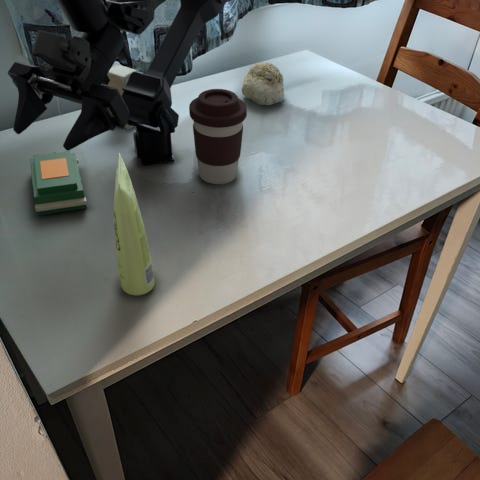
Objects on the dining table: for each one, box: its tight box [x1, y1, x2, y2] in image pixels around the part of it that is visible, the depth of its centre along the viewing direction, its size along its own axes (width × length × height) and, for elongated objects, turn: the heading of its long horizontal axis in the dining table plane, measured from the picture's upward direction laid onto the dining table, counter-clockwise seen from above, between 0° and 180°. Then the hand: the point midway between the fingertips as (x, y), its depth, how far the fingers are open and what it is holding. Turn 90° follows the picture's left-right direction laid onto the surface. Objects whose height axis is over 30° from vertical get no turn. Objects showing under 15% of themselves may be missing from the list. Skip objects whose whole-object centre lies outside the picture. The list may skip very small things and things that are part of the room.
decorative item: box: [241, 62, 285, 106], centre depth 121 cm, size 12×9×10 cm
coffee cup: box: [188, 88, 248, 185], centre depth 94 cm, size 10×10×15 cm
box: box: [106, 64, 138, 130], centre depth 109 cm, size 5×4×11 cm
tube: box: [113, 152, 156, 296], centre depth 71 cm, size 6×5×20 cm
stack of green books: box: [29, 150, 88, 216], centre depth 92 cm, size 8×15×5 cm, turn 18°
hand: (40, 140), depth 75 cm, fingers open, 9 cm apart
